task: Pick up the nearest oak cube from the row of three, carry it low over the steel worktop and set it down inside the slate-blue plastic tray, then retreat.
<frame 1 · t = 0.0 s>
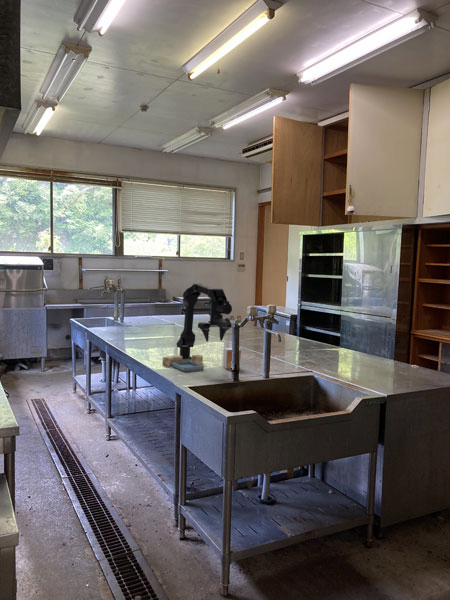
hand: (214, 341, 250), 15 cm above the countertop, fingers open, 9 cm apart
oak cube a: (196, 363, 260), on the countertop
oak cube b: (177, 364, 256), on the countertop
tray: (187, 368, 248), on the countertop
small box: (231, 368, 255), on the countertop
oak cube c: (168, 365, 252), on the countertop
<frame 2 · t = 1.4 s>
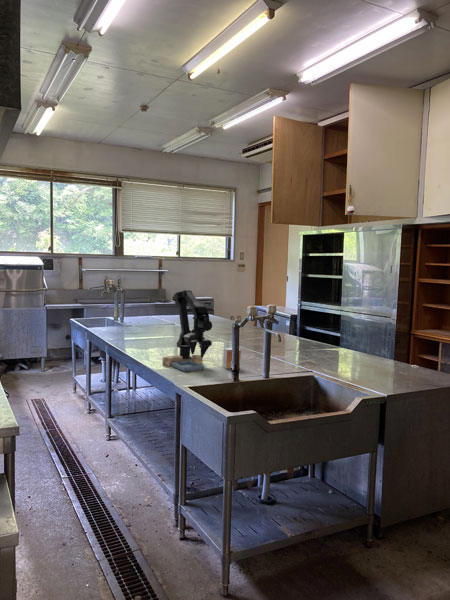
hand: (197, 355, 260), 4 cm above the countertop, fingers open, 9 cm apart
nothing on the countertop moved.
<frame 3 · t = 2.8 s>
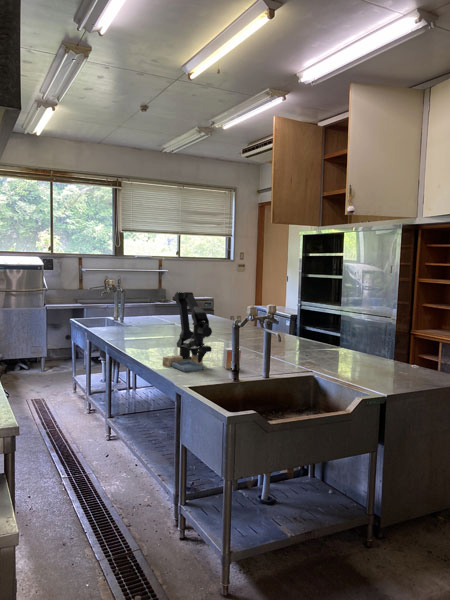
hand: (196, 361, 260), 1 cm above the countertop, fingers closed on oak cube a, 4 cm apart
oak cube a: (196, 363, 260), on the countertop, touching gripper
everything else where it was.
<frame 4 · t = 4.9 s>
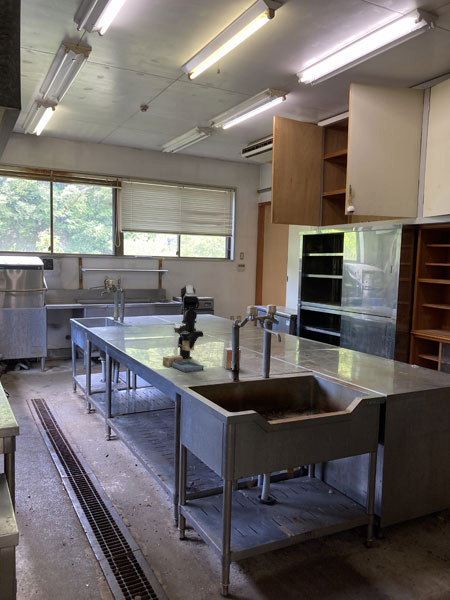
hand: (188, 347, 247), 11 cm above the countertop, fingers closed on oak cube a, 4 cm apart
oak cube a: (188, 349, 247), point 10 cm above the countertop, touching gripper
everything else where it was.
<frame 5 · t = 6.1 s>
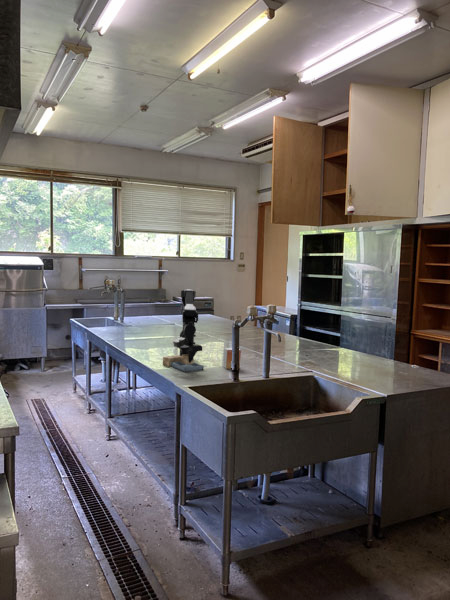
hand: (187, 361, 248), 4 cm above the countertop, fingers closed on oak cube a, 4 cm apart
oak cube a: (187, 363, 248), point 3 cm above the countertop, touching gripper
everything else where it was.
when the fingers open (2 cm above the countertop, at t = 7.1 s): oak cube a stays where it is, resting on tray.
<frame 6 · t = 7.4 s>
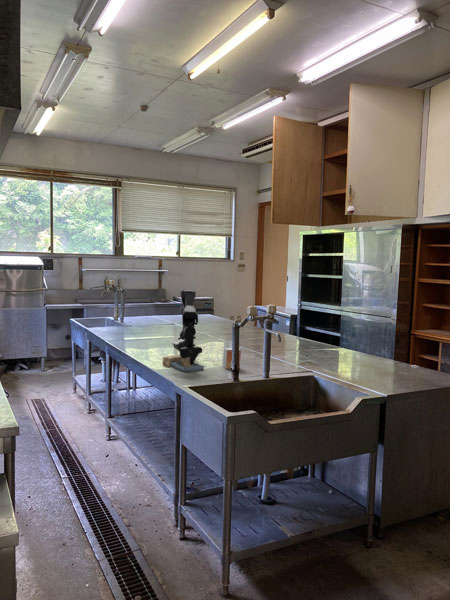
hand: (187, 363, 248), 2 cm above the countertop, fingers open, 8 cm apart
oak cube a: (187, 366, 248), point 1 cm above the countertop, touching tray
everything else where it was.
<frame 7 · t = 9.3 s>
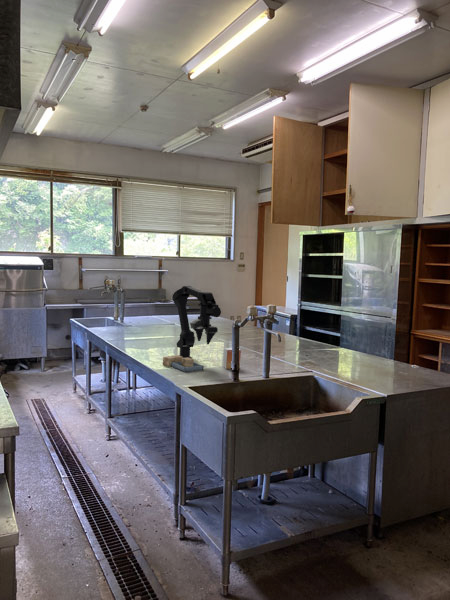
hand: (203, 342, 260), 12 cm above the countertop, fingers open, 9 cm apart
oak cube b: (176, 364, 256), on the countertop, touching oak cube c
oak cube c: (168, 365, 252), on the countertop, touching oak cube b
everything else where it was.
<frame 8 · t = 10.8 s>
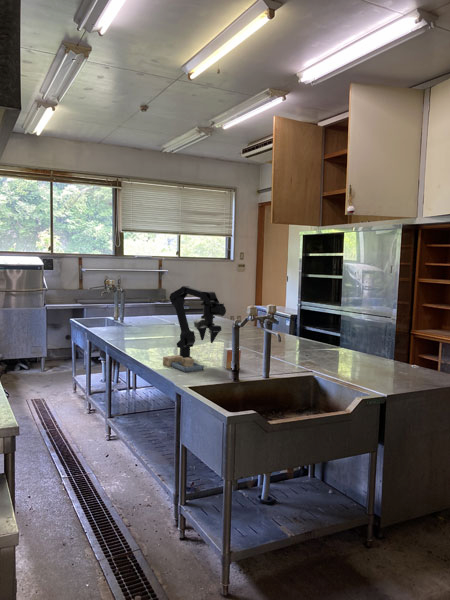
hand: (206, 341, 263), 12 cm above the countertop, fingers open, 9 cm apart
nothing on the countertop moved.
at the end: oak cube a inside the target area on the tray (0.1 cm from its centre), point 0.6 cm above the tray's base; the gripper is holding nothing; oak cube b moved 0.3 cm from its start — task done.
